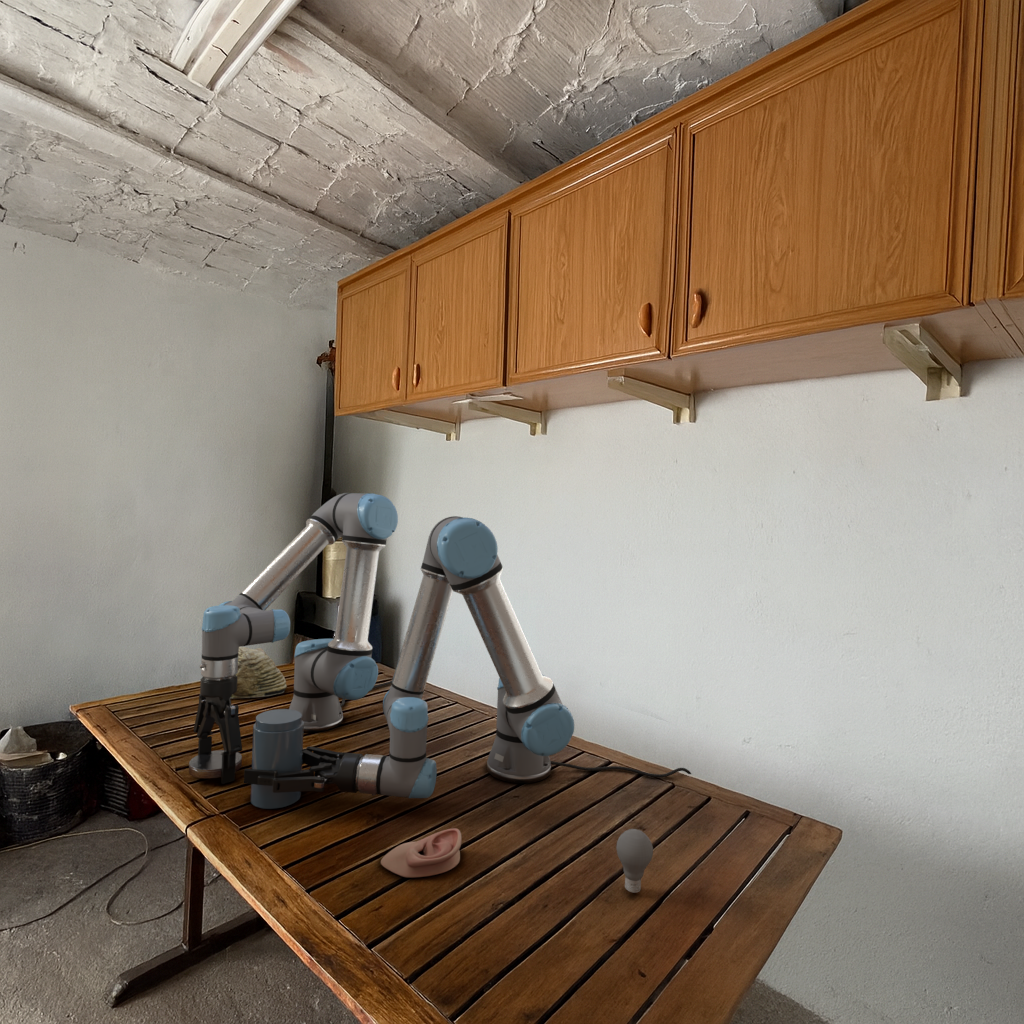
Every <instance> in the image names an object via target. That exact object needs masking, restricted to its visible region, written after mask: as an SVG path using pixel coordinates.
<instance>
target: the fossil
mask: <svg viewBox="0 0 1024 1024" xmlns="http://www.w3.org/2000/svg"><path fill="white" fill-rule="evenodd" d="M236 676H237V677H238V678H237V691H236V692H235V693H234V694H232V695H231V697H230V698H231V699H250V698H264V697H271V696H275V695H281V694H284V693H285V691H286V689H287V687H288V686H287V680H286V678H285V676H284V674H283V673H282V672H281V669H279V668H278V667H277V665H276V663H275V662H274V660H273V659H272V658H271V657H270V656H269V655H268V654H267V653H266V652H265V650H264V649H263V648H260V647H258V648H251V647H248V646H241V647H239V652H238V673H237V674H236Z"/></svg>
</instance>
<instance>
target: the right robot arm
mask: <svg viewBox="0 0 1024 1024" xmlns="http://www.w3.org/2000/svg"><path fill="white" fill-rule="evenodd" d="M498 549H499V548H498V542H497V539H496V536H495V534H494V533H493V531H492V530H491V529H490V528H489V527H488V525H486V524H485V523H483V522H482V521H480V520H477V519H475V518H472V517H463V516H457V515H456V516H455V515H453V516H448V517H444V518H442V519H441V520H439V521H438V522H437V523H436V524H435V525H434V526H433V527H432V529H431V531H430V533H429V535H428V538H427V543H426V546H425V551H424V555H423V558H422V563H421V566H420V571H421V573H422V579H421V581H420V585H419V588H418V592H417V594H416V595H417V596H416V599H415V602H414V606H413V609H412V613H411V616H410V620H409V622H408V626H407V630H406V633H405V636H404V640H403V643H402V646H401V650H400V653H399V655H398V658H397V659H398V660H397V663H396V666H395V669H394V672H393V673H394V674H393V677H392V679H391V681H392V683H391V684H390V687H389V690H387V692H386V693H385V694H384V697H383V700H382V712H383V714H384V718H385V719H386V723H387V726H388V730H389V752H388V753H389V755H384V754H383V755H382V754H369V753H366V754H364V755H363V754H362V753H355V752H341V751H334V750H329V749H325V748H322V747H321V748H320V747H316V746H312V745H308V746H306V748H303V758H302V766H303V765H306V766H308V767H309V768H307V769H302V770H300V771H293V772H286V773H278V772H277V770H275V771H269V770H257V769H252V768H244V770H243V784H246V785H251V784H256V785H268V786H273V792H274V793H280V792H301V793H302V792H317V793H323V792H324V791H325V786H327V785H336V786H337V789H338V791H339V792H340V793H350V794H357V793H358V792H359V794H365V795H371V796H373V797H375V796H376V795H379V796H387V797H400V798H407V799H428V798H430V797H431V796H432V795H433V793H434V791H435V787H436V782H437V775H438V774H437V773H438V769H437V762H436V761H435V760H434V759H431V758H429V757H427V740H428V739H427V738H428V724H429V723H428V722H429V714H428V713H429V712H428V709H429V708H428V703H427V702H426V700H424V699H423V696H424V692H425V688H426V685H427V682H428V678H429V675H430V671H431V668H432V665H433V661H434V658H435V655H436V651H437V648H438V645H439V642H440V638H441V634H442V632H443V627H444V624H445V620H446V617H447V614H448V611H449V608H450V604H451V600H452V597H453V594H454V592H455V593H456V594H460V595H462V597H463V599H464V602H465V604H466V606H467V608H468V610H469V613H470V615H471V617H472V619H473V621H474V624H475V626H476V628H477V630H478V632H479V635H480V637H481V639H482V642H483V644H484V646H485V649H486V650H487V653H488V655H489V657H490V659H491V661H492V664H493V666H494V668H495V671H496V673H497V675H498V677H499V678H498V684H497V687H496V689H497V701H496V703H497V704H496V726H495V727H496V729H495V730H496V731H495V738H494V741H493V744H492V746H491V749H490V751H489V753H488V757H487V761H486V770H487V773H489V775H491V776H492V777H493V778H495V779H497V780H500V781H502V782H507V783H512V784H532V783H533V784H534V783H538V782H540V781H543V780H546V779H547V778H548V777H549V776H550V775H551V773H552V771H551V770H552V765H554V766H559V767H566V768H571V769H576V770H579V771H586V772H600V771H609V770H619V771H627V772H631V773H634V774H638V775H641V776H646V777H649V778H657V779H658V778H660V779H662V778H667V777H670V776H673V775H674V774H676V773H679V772H685V773H686V774H688V775H692V772H691V771H690V770H689V769H688V768H685V767H678V768H675V769H673V770H671V771H669V772H665V773H658V774H657V773H650V772H646V771H642V770H639V769H635V768H631V767H627V766H618V765H617V766H616V765H614V766H613V765H611V766H600V767H599V766H597V767H588V766H587V767H585V766H580V765H575V764H570V763H565V762H559V761H553V760H551V758H550V756H555V755H556V754H558V753H560V752H562V751H563V750H564V749H565V748H566V747H567V746H568V745H569V744H570V742H571V741H572V738H573V736H574V732H575V719H574V716H573V715H572V712H571V711H570V709H569V708H568V707H567V706H566V705H565V704H563V702H562V700H561V698H560V695H559V693H558V690H557V688H556V686H555V685H554V682H553V680H552V678H550V677H548V676H546V675H545V674H542V671H541V669H540V666H539V665H538V662H537V660H536V658H535V655H534V654H533V652H532V649H531V646H530V644H529V642H528V639H527V637H526V635H525V633H524V631H523V628H522V625H521V623H520V621H519V619H518V616H517V614H516V612H515V609H514V607H513V605H512V603H511V600H510V598H509V596H508V594H507V591H506V589H505V587H504V584H503V583H502V580H501V576H502V574H503V571H504V567H503V564H502V562H501V560H500V557H499V555H498V552H499V551H498Z"/></svg>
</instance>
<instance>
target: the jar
mask: <svg viewBox="0 0 1024 1024" xmlns="http://www.w3.org/2000/svg"><path fill="white" fill-rule="evenodd" d="M302 717H303V716H302V714H301V713H300V712H299V711H296V710H291V709H289V708H278V709H277V708H276V709H271V710H266V711H262V712H261V713H259V714H257V715H256V716H255V723H254V724H253V727H252V749H251V769H257V770H269V771H275V770H277V772H278V773H286V772H293V771H300V770H303V765H302V758H303V749H304V732H303V731H304V722H303V720H302ZM301 796H302V791H301V792H280V793H274V792H273V786H268V785H256V784H250V804H252V805H253V806H254V807H256V808H259V809H265V810H272V809H281V808H284V807H287V806H291V805H293V804H295V803H297V802H298V801H299V800H300V799H301Z"/></svg>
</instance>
